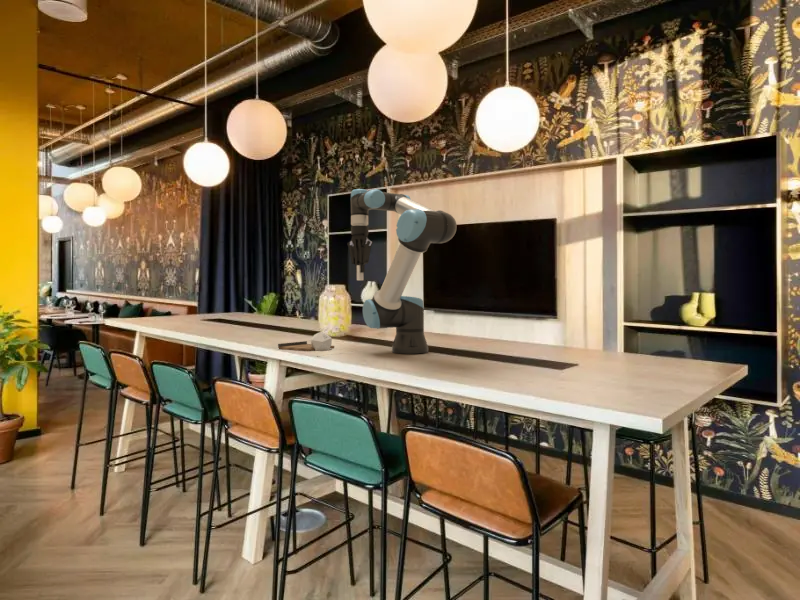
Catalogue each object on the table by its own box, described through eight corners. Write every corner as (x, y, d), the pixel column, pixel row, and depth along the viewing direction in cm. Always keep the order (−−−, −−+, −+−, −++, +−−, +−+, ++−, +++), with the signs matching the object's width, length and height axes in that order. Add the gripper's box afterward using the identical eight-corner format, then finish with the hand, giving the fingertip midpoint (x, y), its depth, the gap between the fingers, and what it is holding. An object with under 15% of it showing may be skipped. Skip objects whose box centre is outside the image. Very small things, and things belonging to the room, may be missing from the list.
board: (334, 348, 236) (334, 343, 236) (307, 351, 223) (307, 345, 223) (305, 346, 246) (305, 341, 246) (278, 348, 234) (278, 343, 234)
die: (331, 340, 223) (316, 325, 226) (317, 356, 223) (302, 341, 227) (340, 343, 230) (325, 329, 234) (326, 359, 231) (311, 344, 235)
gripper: (376, 225, 233) (377, 280, 234) (354, 227, 241) (354, 280, 241) (365, 223, 227) (366, 279, 228) (342, 226, 235) (343, 280, 235)
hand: (360, 280), depth 234 cm, fingers closed
